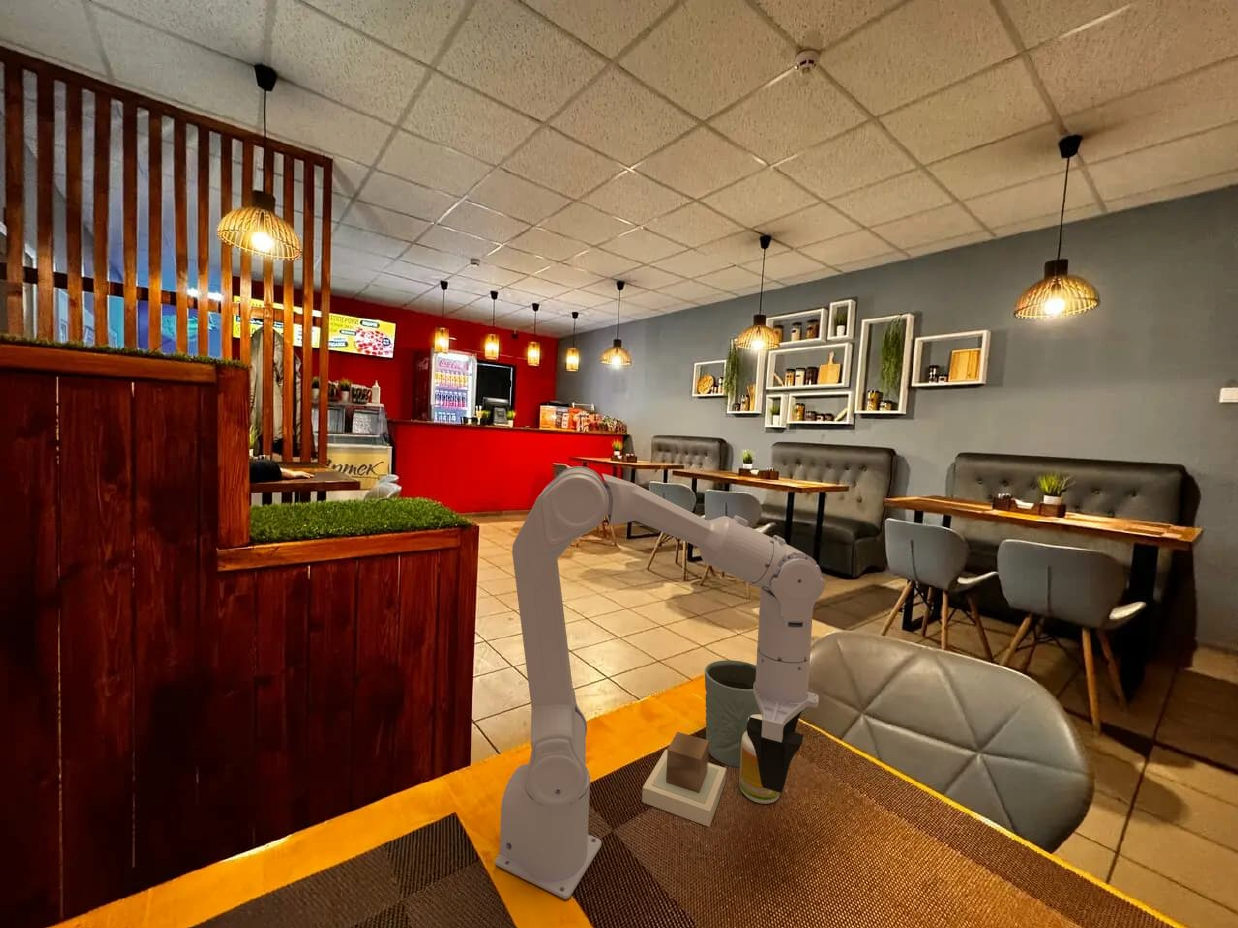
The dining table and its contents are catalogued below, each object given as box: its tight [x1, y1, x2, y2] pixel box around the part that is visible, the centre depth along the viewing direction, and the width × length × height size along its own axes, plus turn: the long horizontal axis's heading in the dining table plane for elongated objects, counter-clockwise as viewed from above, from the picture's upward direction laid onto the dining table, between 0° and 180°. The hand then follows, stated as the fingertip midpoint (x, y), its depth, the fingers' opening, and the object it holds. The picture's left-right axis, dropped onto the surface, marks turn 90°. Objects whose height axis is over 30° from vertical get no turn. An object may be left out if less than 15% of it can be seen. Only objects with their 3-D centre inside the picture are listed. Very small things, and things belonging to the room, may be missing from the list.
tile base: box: [641, 749, 727, 828], centre depth 67 cm, size 9×9×2 cm
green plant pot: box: [704, 659, 761, 768], centre depth 76 cm, size 10×10×12 cm
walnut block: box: [666, 731, 709, 793], centre depth 67 cm, size 4×4×4 cm
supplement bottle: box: [738, 714, 781, 804], centre depth 67 cm, size 5×5×10 cm
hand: (776, 767), depth 57 cm, fingers open, 7 cm apart
